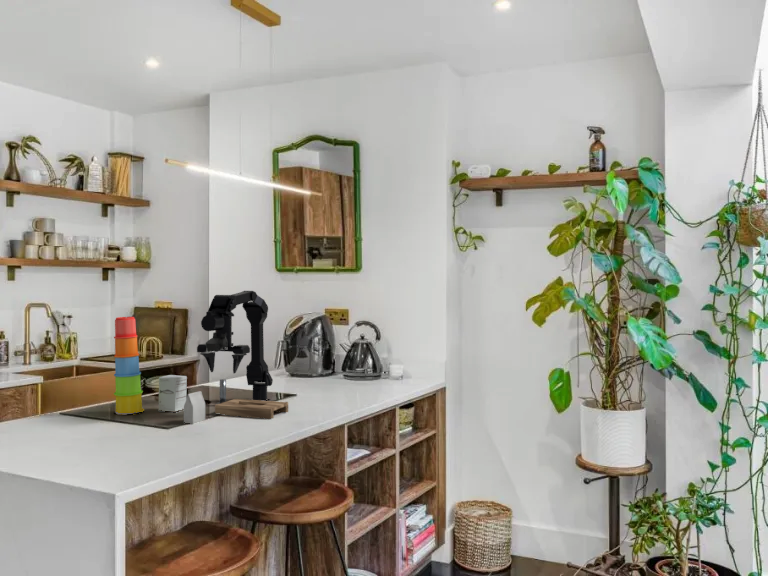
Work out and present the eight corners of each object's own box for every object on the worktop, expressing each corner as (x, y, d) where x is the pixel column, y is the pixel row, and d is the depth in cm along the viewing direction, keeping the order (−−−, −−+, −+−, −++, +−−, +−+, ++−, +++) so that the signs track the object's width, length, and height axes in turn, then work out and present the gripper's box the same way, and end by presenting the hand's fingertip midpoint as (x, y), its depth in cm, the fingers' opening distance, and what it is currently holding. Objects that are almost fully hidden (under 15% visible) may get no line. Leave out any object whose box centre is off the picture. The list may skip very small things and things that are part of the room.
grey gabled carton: (205, 420, 234) (205, 391, 234) (192, 424, 228) (193, 394, 228) (196, 419, 236) (196, 390, 235) (183, 423, 229) (183, 393, 229)
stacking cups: (138, 415, 242) (138, 317, 241) (109, 415, 242) (109, 317, 241) (148, 410, 252) (148, 316, 252) (120, 410, 252) (120, 316, 252)
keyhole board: (235, 408, 257) (235, 398, 257) (288, 411, 251) (288, 402, 251) (215, 414, 244) (215, 405, 244) (270, 419, 238) (270, 408, 238)
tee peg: (220, 404, 265) (220, 378, 265) (231, 405, 264) (231, 379, 264) (214, 406, 261) (214, 380, 261) (224, 407, 260) (225, 380, 259)
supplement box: (157, 411, 249) (157, 377, 249) (170, 408, 256) (170, 374, 256) (174, 413, 247) (175, 378, 247) (187, 409, 254) (187, 375, 254)
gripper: (188, 330, 242) (188, 374, 242) (235, 331, 237) (234, 376, 237) (205, 328, 253) (205, 370, 253) (250, 329, 247) (250, 372, 247)
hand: (223, 372), depth 247 cm, fingers open, 9 cm apart
